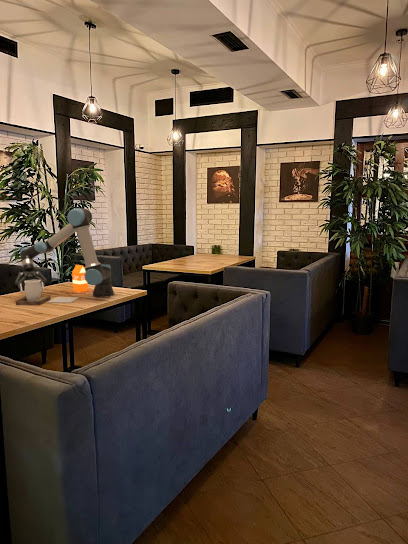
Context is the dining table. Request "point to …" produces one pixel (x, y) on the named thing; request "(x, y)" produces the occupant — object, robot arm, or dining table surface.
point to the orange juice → (79, 279)
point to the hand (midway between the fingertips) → (32, 291)
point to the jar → (33, 290)
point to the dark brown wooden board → (25, 302)
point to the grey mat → (63, 300)
